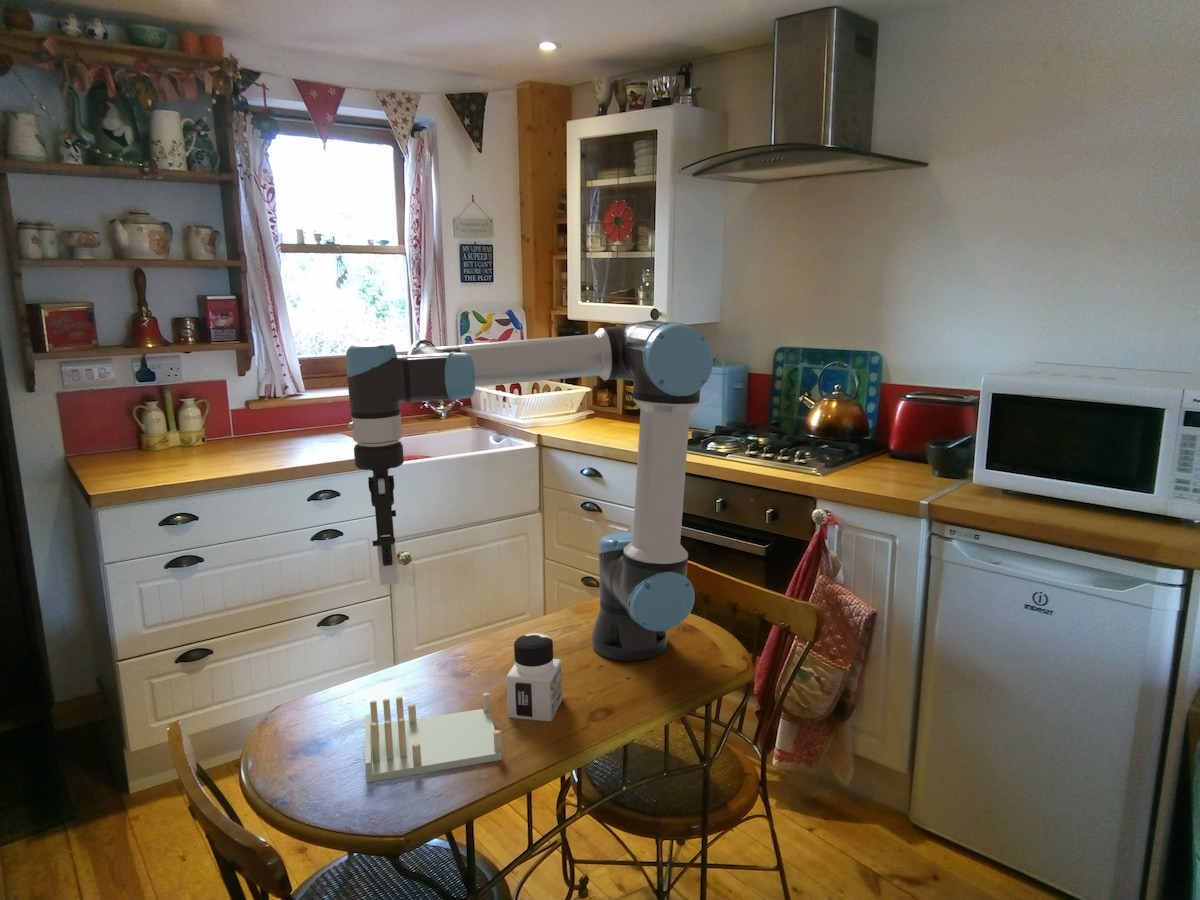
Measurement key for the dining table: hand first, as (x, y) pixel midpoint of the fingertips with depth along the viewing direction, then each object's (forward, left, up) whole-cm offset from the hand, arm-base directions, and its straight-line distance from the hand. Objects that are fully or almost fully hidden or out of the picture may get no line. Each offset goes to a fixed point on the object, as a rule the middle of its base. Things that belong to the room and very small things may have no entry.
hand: (388, 569), depth 134 cm
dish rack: (-5, +12, -26) cm, 29 cm away
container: (-23, +5, -26) cm, 35 cm away
